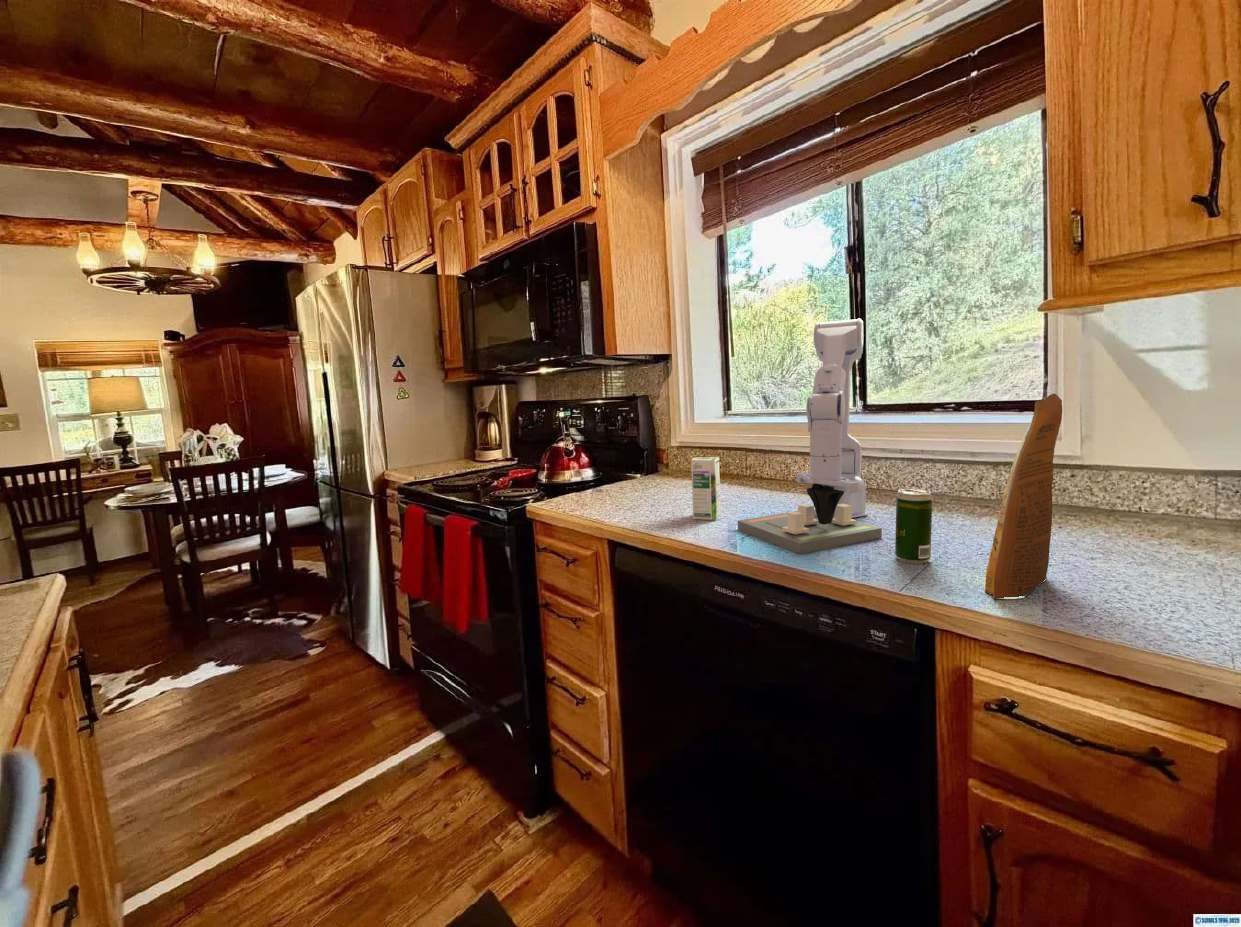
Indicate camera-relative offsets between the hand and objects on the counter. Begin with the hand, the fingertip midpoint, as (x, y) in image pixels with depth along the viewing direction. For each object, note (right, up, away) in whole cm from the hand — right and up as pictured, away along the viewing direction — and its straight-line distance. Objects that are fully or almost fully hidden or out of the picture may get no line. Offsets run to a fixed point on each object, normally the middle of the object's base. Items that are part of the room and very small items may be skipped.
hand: (825, 523), depth 106 cm
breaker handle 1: (-6, -1, -1) cm, 6 cm away
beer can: (+10, -5, -13) cm, 17 cm away
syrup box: (-20, -1, +23) cm, 30 cm away
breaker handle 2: (+5, 0, +4) cm, 6 cm away
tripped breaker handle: (-2, 0, +5) cm, 6 cm away
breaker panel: (-2, -3, +5) cm, 6 cm away
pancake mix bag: (+19, -7, -27) cm, 34 cm away
